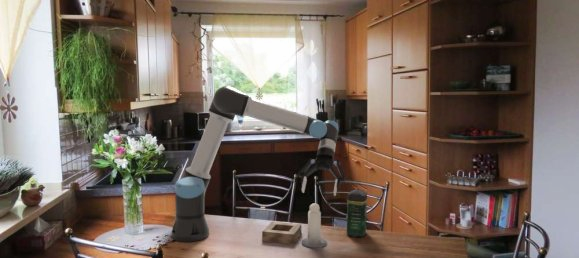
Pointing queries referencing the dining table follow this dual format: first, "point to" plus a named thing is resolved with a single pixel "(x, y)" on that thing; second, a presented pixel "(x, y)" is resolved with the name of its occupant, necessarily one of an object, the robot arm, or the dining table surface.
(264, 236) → the walnut holder
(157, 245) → the dining table surface
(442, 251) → the dining table surface
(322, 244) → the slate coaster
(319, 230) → the pepper mill
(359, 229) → the coffee jar
